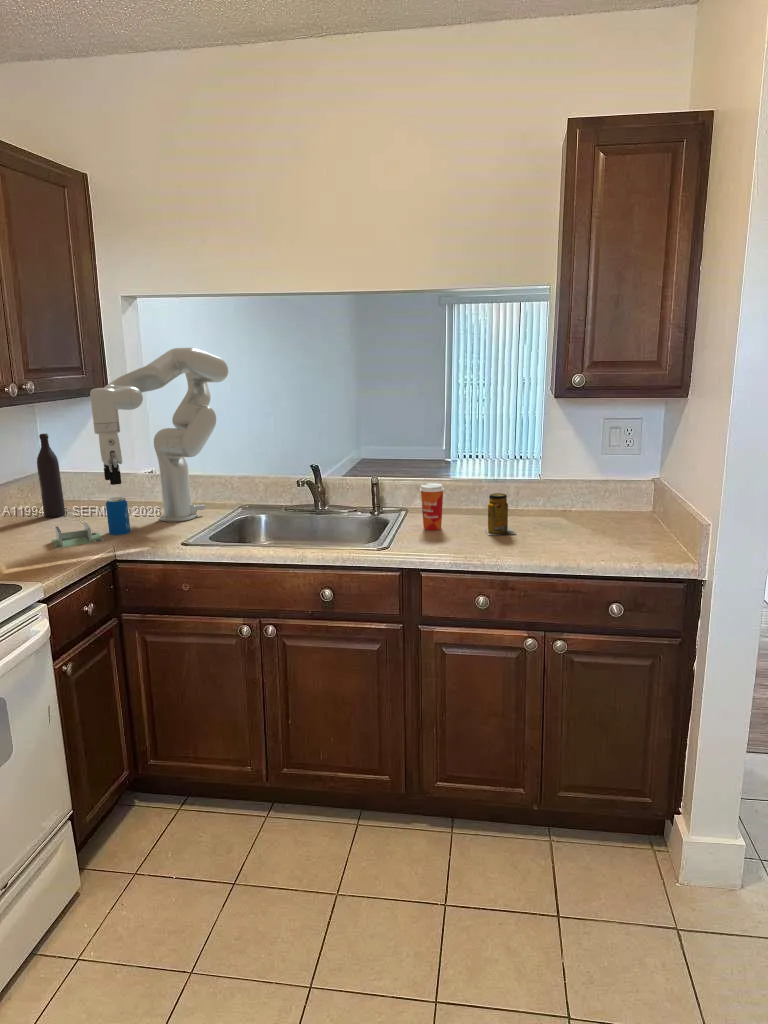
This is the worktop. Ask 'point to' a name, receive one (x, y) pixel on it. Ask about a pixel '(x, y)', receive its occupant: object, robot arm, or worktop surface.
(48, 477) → the wine bottle
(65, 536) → the bracket
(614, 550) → the worktop surface
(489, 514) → the condiment
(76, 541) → the deck plate
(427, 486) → the paper cup
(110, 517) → the beverage can
